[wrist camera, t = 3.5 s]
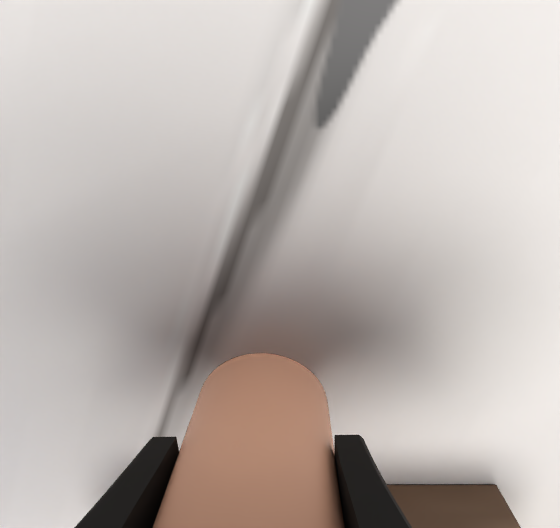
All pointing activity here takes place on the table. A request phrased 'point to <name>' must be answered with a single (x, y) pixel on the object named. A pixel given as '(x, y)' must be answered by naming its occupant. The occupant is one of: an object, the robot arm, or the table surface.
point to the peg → (256, 452)
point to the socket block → (453, 506)
